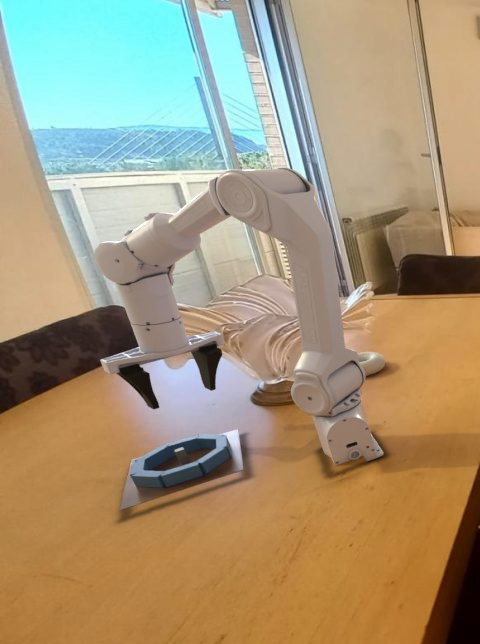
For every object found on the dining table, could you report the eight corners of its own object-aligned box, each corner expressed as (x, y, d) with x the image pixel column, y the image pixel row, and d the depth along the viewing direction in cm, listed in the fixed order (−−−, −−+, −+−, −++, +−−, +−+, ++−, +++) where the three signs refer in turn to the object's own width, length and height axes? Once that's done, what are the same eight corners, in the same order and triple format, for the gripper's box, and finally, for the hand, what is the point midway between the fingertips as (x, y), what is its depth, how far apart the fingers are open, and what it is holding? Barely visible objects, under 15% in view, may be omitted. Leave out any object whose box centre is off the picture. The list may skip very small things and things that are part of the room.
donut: (329, 379, 107) (367, 381, 105) (325, 365, 105) (363, 367, 103) (360, 361, 116) (396, 363, 114) (356, 348, 114) (392, 350, 112)
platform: (247, 477, 73) (237, 454, 72) (123, 519, 65) (109, 494, 64) (241, 436, 85) (232, 415, 83) (135, 467, 77) (123, 444, 75)
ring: (232, 466, 74) (228, 455, 73) (133, 498, 67) (126, 486, 66) (229, 436, 82) (225, 426, 81) (140, 462, 75) (135, 452, 75)
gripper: (198, 303, 80) (220, 375, 85) (78, 326, 68) (112, 408, 73) (221, 311, 77) (242, 385, 83) (100, 337, 65) (134, 421, 71)
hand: (183, 397), depth 78 cm, fingers open, 7 cm apart
